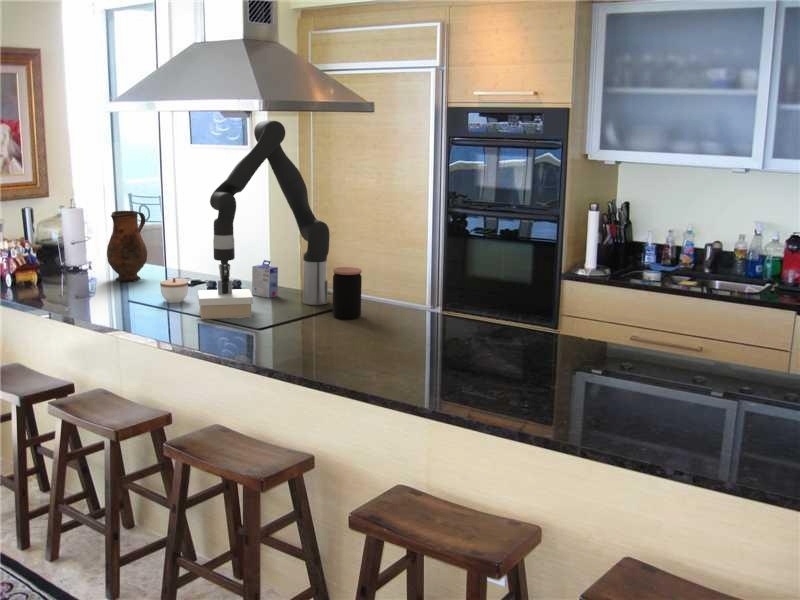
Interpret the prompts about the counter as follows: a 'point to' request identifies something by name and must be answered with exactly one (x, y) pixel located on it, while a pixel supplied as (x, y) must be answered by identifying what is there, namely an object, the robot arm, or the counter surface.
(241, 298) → the lid
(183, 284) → the lidded jar
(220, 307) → the base
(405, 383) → the counter surface
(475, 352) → the counter surface
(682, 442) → the counter surface
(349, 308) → the coffee jar
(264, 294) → the ink cartridge box
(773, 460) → the counter surface
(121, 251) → the pitcher
